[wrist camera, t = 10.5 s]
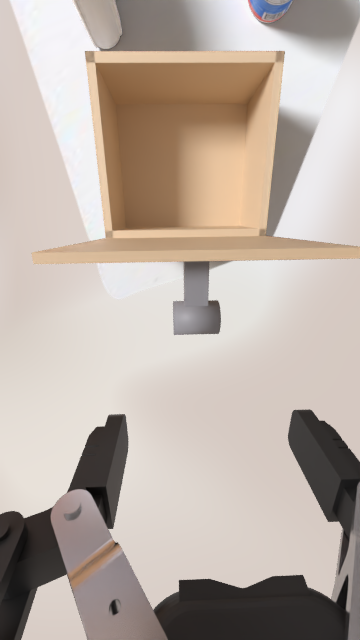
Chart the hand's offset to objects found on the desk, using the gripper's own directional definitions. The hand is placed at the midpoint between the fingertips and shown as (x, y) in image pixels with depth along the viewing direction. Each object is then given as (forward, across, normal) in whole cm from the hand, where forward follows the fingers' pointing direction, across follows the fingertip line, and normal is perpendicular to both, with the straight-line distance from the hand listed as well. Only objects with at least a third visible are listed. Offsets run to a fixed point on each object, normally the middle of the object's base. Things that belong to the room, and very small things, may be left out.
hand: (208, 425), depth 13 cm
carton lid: (+13, 0, -7) cm, 15 cm away
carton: (+31, 0, -15) cm, 35 cm away
